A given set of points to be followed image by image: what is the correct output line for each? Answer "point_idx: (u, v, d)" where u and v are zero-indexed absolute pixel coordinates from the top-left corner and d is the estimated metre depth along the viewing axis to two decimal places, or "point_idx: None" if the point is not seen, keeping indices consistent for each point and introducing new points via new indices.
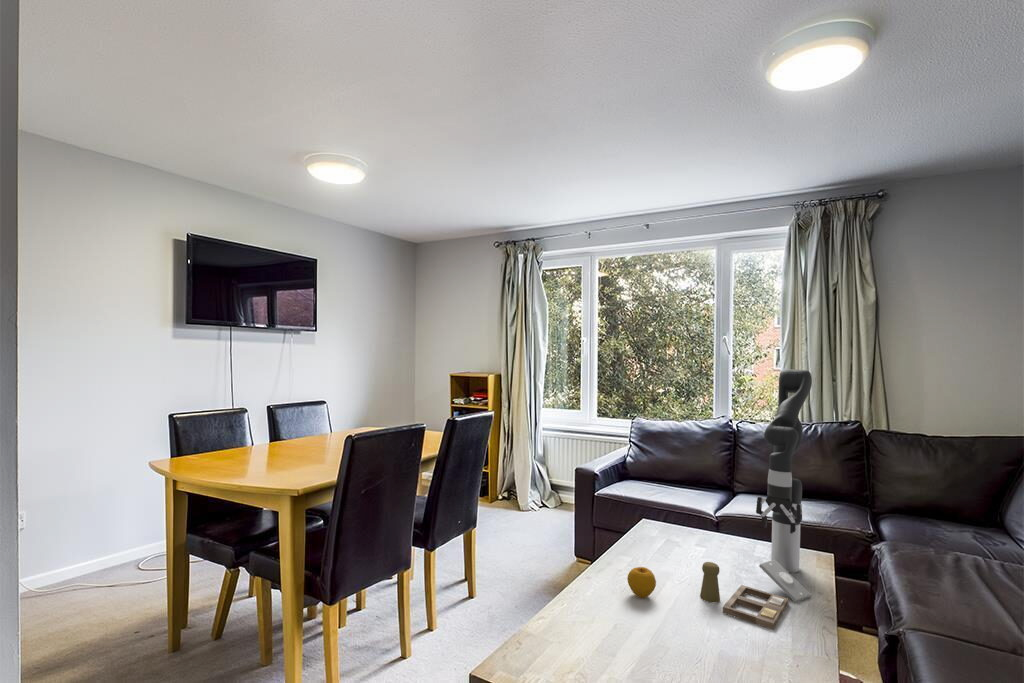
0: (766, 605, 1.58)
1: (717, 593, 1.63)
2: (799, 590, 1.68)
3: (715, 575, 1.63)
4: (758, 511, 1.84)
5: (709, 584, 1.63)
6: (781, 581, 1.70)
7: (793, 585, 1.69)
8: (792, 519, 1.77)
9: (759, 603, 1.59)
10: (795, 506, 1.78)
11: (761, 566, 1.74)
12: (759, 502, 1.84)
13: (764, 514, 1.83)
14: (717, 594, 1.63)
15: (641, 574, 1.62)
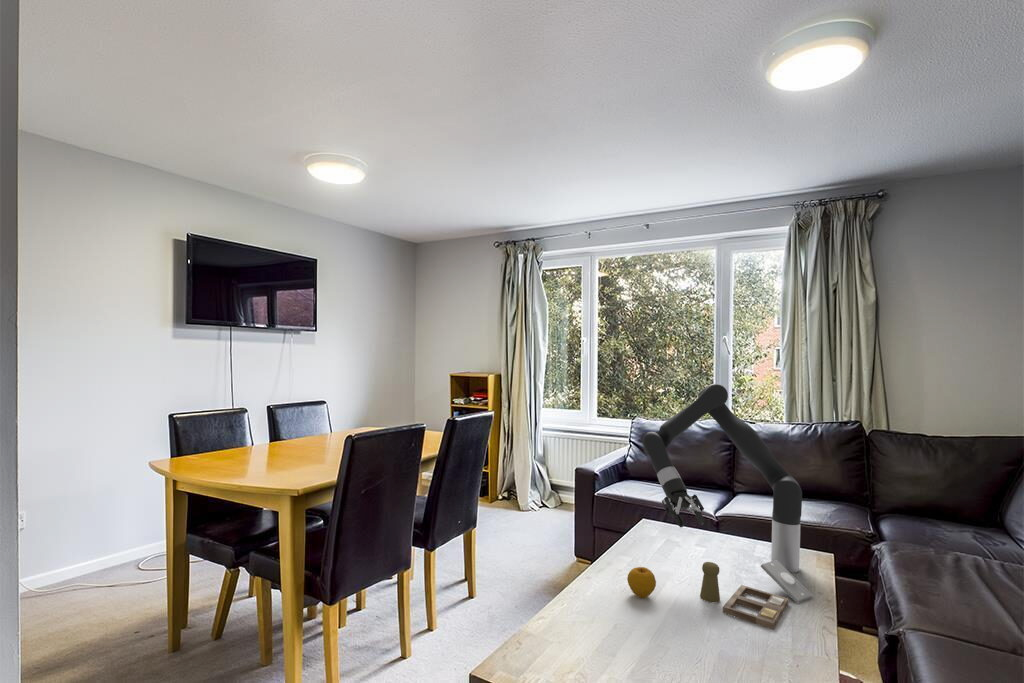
0: (766, 605, 1.58)
1: (717, 593, 1.63)
2: (800, 591, 1.68)
3: (715, 575, 1.63)
4: (672, 510, 1.76)
5: (708, 584, 1.63)
6: (782, 581, 1.69)
7: (794, 585, 1.69)
8: (698, 508, 1.79)
9: (759, 603, 1.59)
10: (692, 498, 1.83)
11: (762, 566, 1.74)
12: (668, 501, 1.78)
13: (677, 511, 1.76)
14: (717, 594, 1.63)
15: (641, 574, 1.62)
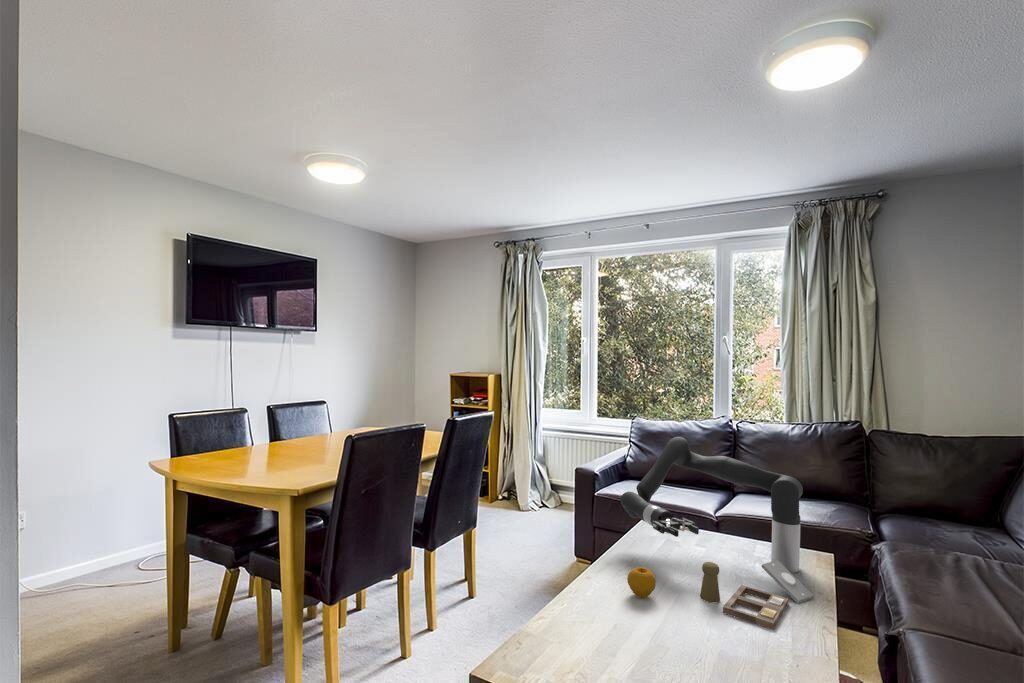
0: (766, 605, 1.58)
1: (717, 593, 1.63)
2: (801, 591, 1.67)
3: (715, 575, 1.63)
4: (662, 525, 1.78)
5: (708, 584, 1.63)
6: (783, 581, 1.69)
7: (795, 586, 1.69)
8: (688, 523, 1.82)
9: (759, 603, 1.59)
10: None
11: (763, 566, 1.74)
12: (657, 522, 1.82)
13: (668, 525, 1.79)
14: (717, 594, 1.63)
15: (641, 574, 1.62)
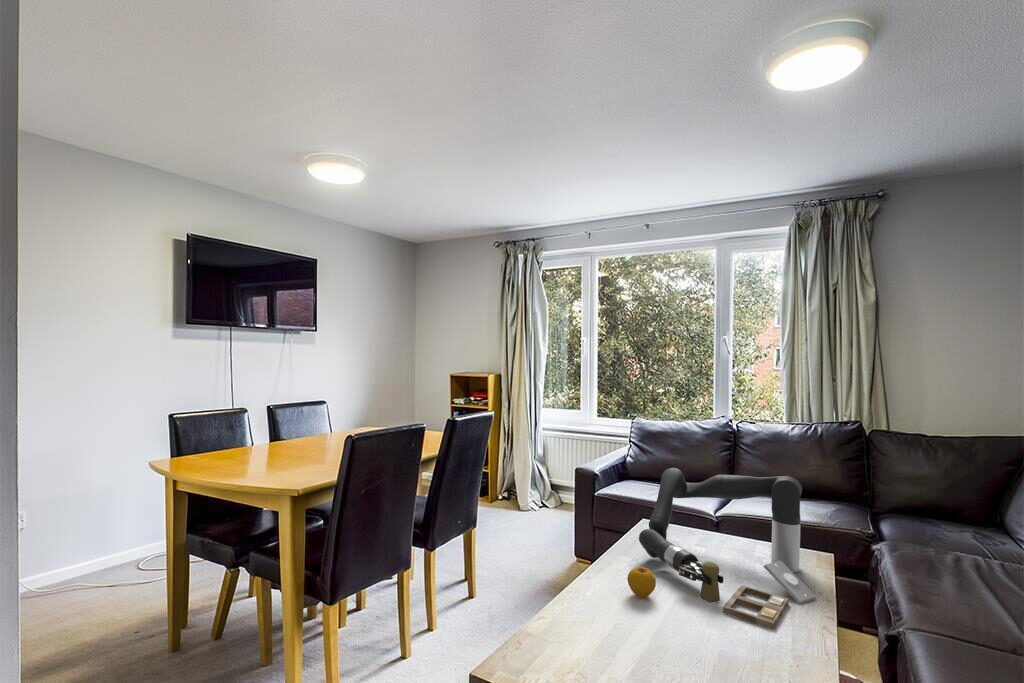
0: (766, 605, 1.58)
1: (717, 593, 1.63)
2: (803, 592, 1.67)
3: (715, 575, 1.63)
4: (693, 572, 1.66)
5: None
6: (785, 582, 1.69)
7: (798, 586, 1.68)
8: None
9: (759, 603, 1.59)
10: None
11: (766, 567, 1.74)
12: (684, 568, 1.68)
13: (700, 572, 1.66)
14: (717, 594, 1.63)
15: (641, 574, 1.62)
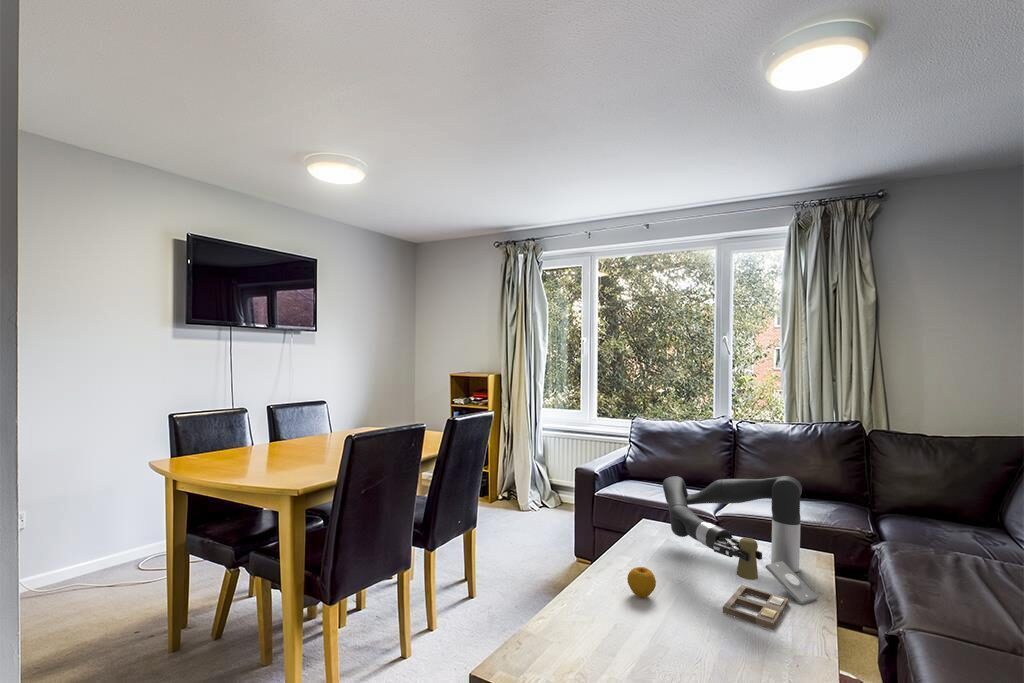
0: (766, 605, 1.58)
1: (756, 570, 1.54)
2: (805, 592, 1.67)
3: (753, 551, 1.54)
4: (730, 548, 1.57)
5: None
6: (787, 582, 1.69)
7: (799, 587, 1.68)
8: None
9: (759, 603, 1.59)
10: None
11: (767, 567, 1.73)
12: (720, 544, 1.60)
13: (737, 548, 1.58)
14: (755, 571, 1.54)
15: (641, 574, 1.62)
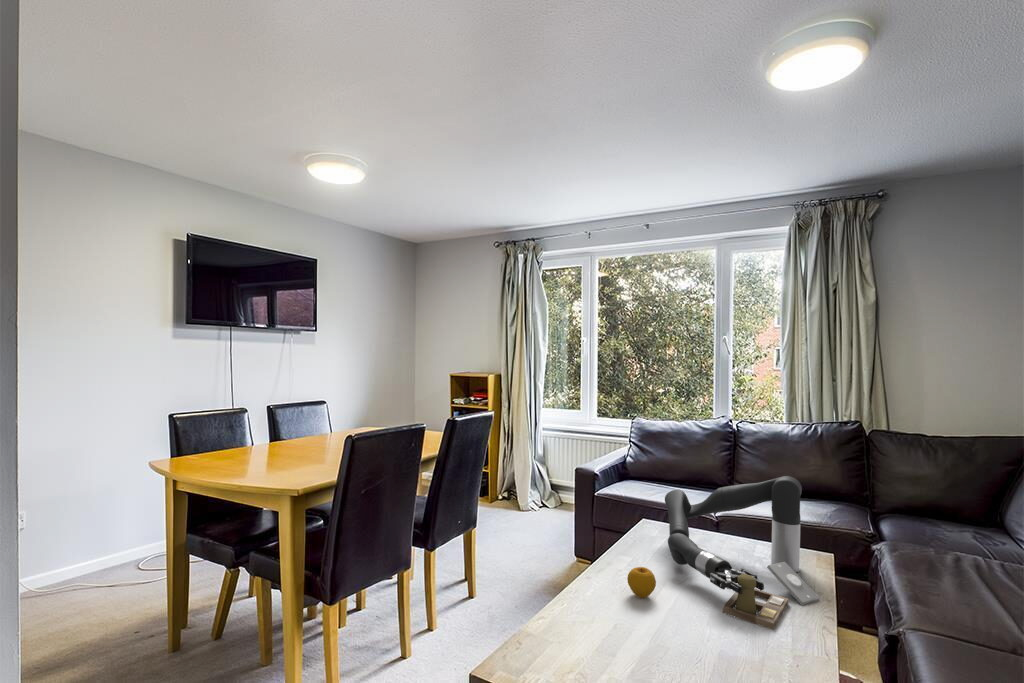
0: (766, 605, 1.58)
1: (754, 607, 1.54)
2: (806, 593, 1.66)
3: (752, 588, 1.54)
4: (722, 580, 1.57)
5: (745, 598, 1.55)
6: (788, 583, 1.68)
7: (801, 587, 1.68)
8: None
9: (759, 603, 1.59)
10: (741, 572, 1.65)
11: (769, 567, 1.73)
12: (715, 575, 1.60)
13: (729, 579, 1.57)
14: (754, 608, 1.54)
15: (641, 574, 1.62)
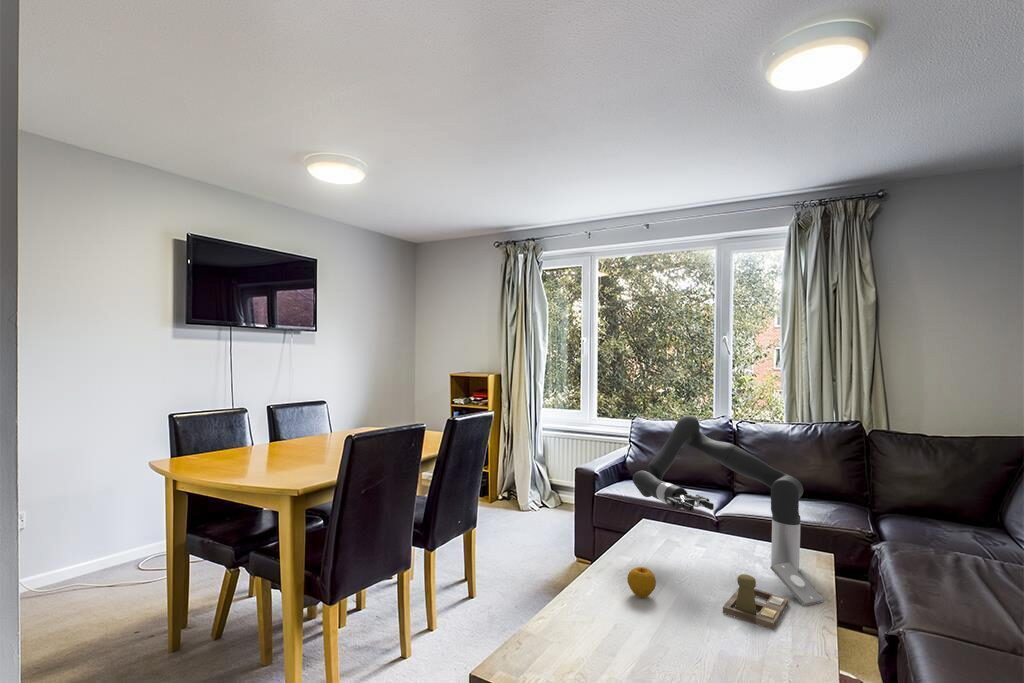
0: (766, 605, 1.58)
1: (754, 607, 1.54)
2: (809, 594, 1.65)
3: (752, 588, 1.54)
4: (677, 501, 1.77)
5: (745, 598, 1.55)
6: (791, 583, 1.68)
7: (804, 589, 1.67)
8: (703, 499, 1.81)
9: (759, 603, 1.59)
10: None
11: (772, 568, 1.73)
12: (671, 498, 1.80)
13: (683, 501, 1.77)
14: (754, 608, 1.54)
15: (641, 574, 1.62)
